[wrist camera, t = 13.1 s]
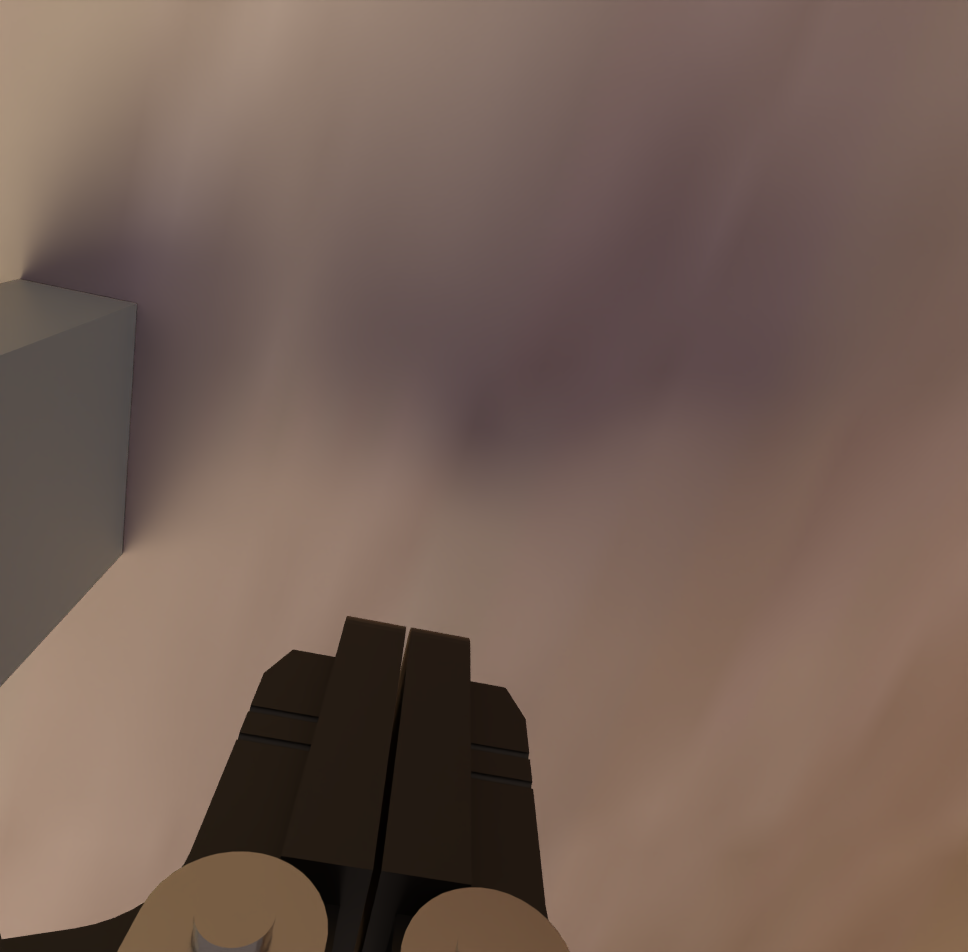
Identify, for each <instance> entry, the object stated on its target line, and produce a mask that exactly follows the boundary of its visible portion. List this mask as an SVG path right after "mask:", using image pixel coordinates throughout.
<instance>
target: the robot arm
mask: <svg viewBox="0 0 968 952" xmlns="http://www.w3.org/2000/svg"><path fill="white" fill-rule="evenodd" d="M405 632H406V627H405V626H399V625H394V624H389V623H383V622H378V621H372V620H367V619H362V618H356V617H351V616H347V617H346V621H345V624H344V628H343V631H342V635H341V639H340V642H339V646H338V650H337V653H336V657H331V656H326V655H320V654H315V653H309V652H304V651H298V650H292V651H291V652H289V653H288V654H287V655H286V656H284V657H283V658H282V659H281V660H280V661H278V662H277V663H276V664H275V665H273V666H272V667H271V668H270V669H268V670H267V671H266V672H265V673H264V674H263V677H262V679H261V682H260V684H259V686H258V689H257V691H256V694H255V696H254V699H253V701H252V704H251V707H250V711H249V712H248V713H247V716H246V718H245V721H244V723H243V725H242V728H241V730H240V733H239V737H238V740H236V742H235V745H234V747H233V750H232V752H231V755H230V757H229V759H228V762H227V764H226V767H225V769H224V772H223V774H222V776H221V779H220V781H219V784H218V786H217V789H216V791H215V793H214V796H213V798H212V801H211V803H210V806H209V808H208V811H207V813H206V815H205V818H204V820H203V823H202V825H201V828H200V830H199V832H198V835H197V837H196V840H195V842H194V845H193V847H192V849H191V852H190V854H189V856H188V858H187V859H186V861H185V863H184V865H183V866H182V868H180V869H178V870H177V871H175V872H173V873H172V874H171V875H170V876H168V877H167V878H166V879H165V880H163V881H162V882H161V883H160V884H159V885H158V886H157V887H156V888H155V889H154V891H153V892H152V893H151V894H150V895H149V896H148V898H147V900H146V901H145V902H144V903H143V904H141V905H139V906H138V907H136V908H134V909H133V910H130V911H128V912H126V913H124V914H122V915H120V916H117V917H115V918H112V919H109V920H106V921H103V922H100V923H97V924H94V925H89V926H84V927H79V928H75V929H68V930H61V931H55V932H48V933H41V934H35V935H28V936H21V937H15V938H8V939H1V935H0V952H570V951H569V949H568V947H567V945H566V943H565V941H564V940H563V938H562V937H561V935H560V934H559V932H558V931H557V930H556V928H555V927H554V926H553V925H552V924H551V923H550V922H549V920H548V916H547V911H546V906H545V897H544V888H543V878H542V869H541V859H540V850H539V841H538V831H537V822H536V812H535V803H534V794H533V789H531V785H532V775H531V766H530V760H529V759H528V756H529V747H528V737H527V728H526V719H525V717H524V716H523V714H522V713H521V711H520V710H519V708H518V706H517V705H516V703H515V702H514V700H513V699H512V697H511V696H510V694H509V692H508V691H507V689H506V688H504V687H499V686H493V685H488V684H482V683H477V682H471V681H470V639H469V638H465V637H460V636H454V635H449V634H443V633H438V632H433V631H427V630H422V629H417V628H411V629H410V632H409V636H408V640H407V644H406V648H405V653H404V657H403V661H402V654H403V647H404V640H405ZM401 662H402V666H401ZM400 669H401V670H400Z"/></svg>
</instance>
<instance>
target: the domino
mask: <svg viewBox="0 0 968 952" xmlns="http://www.w3.org/2000/svg"><path fill="white" fill-rule="evenodd" d="M136 312H137V303H132V302H128V301H123V300H118V299H113V298H108V297H103V296H99V295H94V294H89V293H84V292H79V291H75V290H70V289H65V288H60V287H55V286H50V285H46V284H41V283H36V282H31V281H26V280H21V279H18V280H13V281H9V282H4V283H0V687H1V686H2V685H3V683H4V682H5V681H6V680H7V679H8V678H9V677H10V676H11V675H12V674H13V673H14V671H15V670H16V669H17V668H18V667H19V666H20V665H21V664H22V663H23V662H24V661H25V659H26V658H27V657H28V656H29V655H30V654H31V653H32V652H33V651H34V650H35V649H36V648H37V646H38V645H39V644H40V643H41V642H42V641H43V640H44V639H45V638H46V637H47V636H48V634H49V633H50V632H51V631H52V630H53V629H54V628H55V627H56V626H57V625H58V624H59V622H60V621H61V620H62V619H63V618H64V617H65V616H66V615H67V614H68V613H69V612H70V611H71V609H72V608H73V607H74V606H75V605H76V604H77V603H78V602H79V601H80V600H81V599H82V597H83V596H84V595H85V594H86V593H87V592H88V591H89V590H90V589H91V588H92V587H93V585H94V584H95V583H96V582H97V581H98V580H99V579H100V578H101V577H102V576H103V575H104V574H105V572H106V571H107V570H108V569H109V568H110V567H111V566H112V565H113V564H114V563H115V562H116V560H117V559H118V558H119V557H120V556H121V555H122V549H123V532H124V515H125V498H126V481H127V464H128V447H129V431H130V414H131V397H132V380H133V363H134V346H135V329H136Z"/></svg>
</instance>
